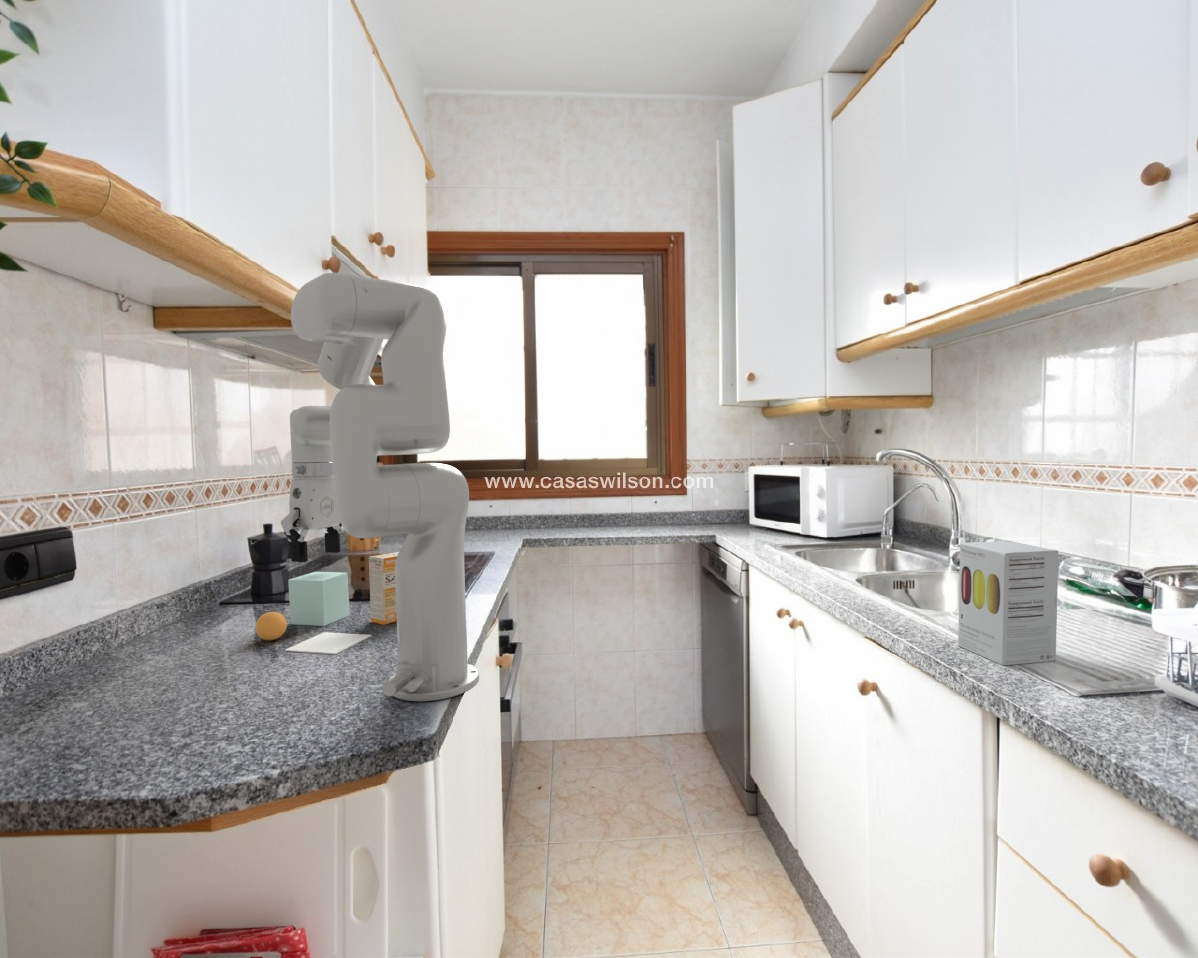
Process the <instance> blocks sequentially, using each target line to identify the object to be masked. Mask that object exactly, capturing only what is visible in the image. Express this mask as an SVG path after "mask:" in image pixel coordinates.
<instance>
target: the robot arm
mask: <svg viewBox="0 0 1198 958" xmlns="http://www.w3.org/2000/svg"><path fill="white" fill-rule="evenodd" d="M447 320H448V319H447V309H446V306H445V303H444V301H443V298H442V297H441V296H440V295H439V293H438V292H436V291H435V290H433V289H431V288H429V287H426V286H421V285H416V284H411V283H405V282H400V281H399V282H398V281H393V280H386V279H379V278H372V277H367V276H360V275H354V274H353V275H352V274H347V273H341V272H326V273H323V274H320V275H318V276H316V277H315V278H313V279H311V280H309V281H308V282H306V283H305V284H304V285H302V286H301V287H300V288H299V290H298V291H297V292H296V294H295V296H294V298H293V300H292V304H291V309H290V321H291V323H290V324H291V327H292V330H293V332H294V333H295V334H296V336H297V337H299V339H301V340H303V341H309V342H319V343H320V342H321V343H323V345H322V348H321V351H320V355H319V357H318V359H317V370H318V372H319V374H320V376H321V377H322V379H324V380H325V382H326V383H328V384H330V385H331V386H332V387H335V388H337V389H338V390H339V391H338V392H337V393H336V395H335V396H334V398H333V400H332V403H331V405H304V406H301V407H299V408H297V409H293V410H292V411H291V412H290V415H289V433H290V434H289V435H290V450H291V451H290V453H291V455H290V456H291V475H292V477H291V478H292V479H291V481H290V490H289V504H288V505H289V507H288V508H289V510H288V511H289V513H288V514H287V515H286V516H284V517H283V518H282V520H280V525H281V527H282V528H281V529H283V532H284V535H285V537H287V541H288V542H290V556H291V557H290V558H291V559H290V560H291V562H293V563H307V562H308V560H309V559H308V556H309V555H308V542H307V540H305V539H306V537H307V535H308V532H309V531H318V530H322V529H324V530H325V531H326V532H324V551H325V552H326V553H335V554H337V553H340V552H341V535H340V533H342V531H343V530H344V531H345V532H346V533H347V534H348V535H349V536H350V537H354V538H357V539H358V538H359V539H369V538H372V539H373V538H382V537H390V536H399V535H407V536H406V539H405V540H404V542H403V543H402V545H401V547H400V549H399V551H398V552H399V553H398V556H397V559H396V563H395V590H396V613H397V621H396V630H397V631H396V635H397V657H398V661H397V663H396V673H395V674H393V675H392V676H391V677H390V678H389V679H388V681H386V682H385V683H383V685H382V692H383V693H384V695H385V696H386V697H394V698H396V699H398V700H402V701H407V702H431V701H440V700H445V699H449V698H453V697H456V696H459V695H462V694H464V693H467V692H469V691H470V690H472V689H473V688H474V687H476V685H478V683H479V681H480V672H479V670H478V668H477V667H475V666H474V665H472V664H469V663H468V662H469V661H468V635H467V634H468V633H467V609H466V584H465V583H466V579H465V578H466V577H465V534H466V522H467V517H468V510H469V503H470V489H469V484H468V482H467V479H466V477H465V476H464V474H463V473H462V472H461V471H460V470H459V469H457V468H456V467H454V466H452V465H449V464H446V463H445V464H444V463H439V462H421V463H420V462H417V463H416V462H415V463H401V464H398V463H397V464H380V465H379V464H378V465H377V459H378V456H396V455H397V456H401V455H404V456H405V455H420V454H421V455H422V454H431V453H435V452H439V451H440V450H442V449H443V448H444V447H446V445H447V444H448V442H449V439H450V434H451V423H450V412H449V410H450V409H449V400H448V393H447V392H448V391H447V383H446V372H445V365H444V345H445V341H446V340H445V339H446V333H447V323H448V321H447ZM384 340H387V342H386V343H385V345H384V347H383V349H382V351H381V357H380V363H381V371H382V384H376V383H375V382H374V380H373V378H372V377H371V376H370V375H371V373H372V370H373V368H374V366H375V363H376V360H377V358H378V354H379V352H380V349H381V347H382V345H383V343H384ZM342 528H343V529H342Z"/></svg>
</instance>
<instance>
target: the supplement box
mask: <svg viewBox="0 0 1198 958" xmlns="http://www.w3.org/2000/svg"><path fill="white" fill-rule="evenodd" d="M398 553H399V551H397V552H390V553H384V554H378V555H377V554H376V555H370V556H368V570H369V572H368V573H369V598H370V599H369V602H370V604H369V606H370V621H371V622H372V623H376V624H380V625H383V626H385V625H388V624H393V623H395V622H396V623H397V613H396V590H395V563H396V559H397V556H398Z"/></svg>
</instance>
